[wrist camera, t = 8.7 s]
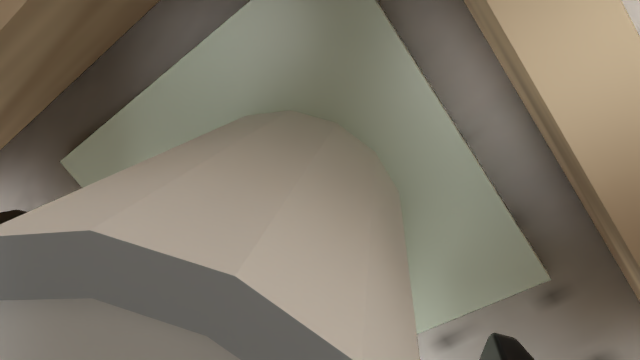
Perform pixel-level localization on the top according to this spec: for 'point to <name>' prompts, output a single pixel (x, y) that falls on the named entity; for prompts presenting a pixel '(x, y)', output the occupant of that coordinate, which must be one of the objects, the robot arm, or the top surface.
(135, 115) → the pad
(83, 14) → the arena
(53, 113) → the top surface
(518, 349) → the robot arm
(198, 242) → the white cup
